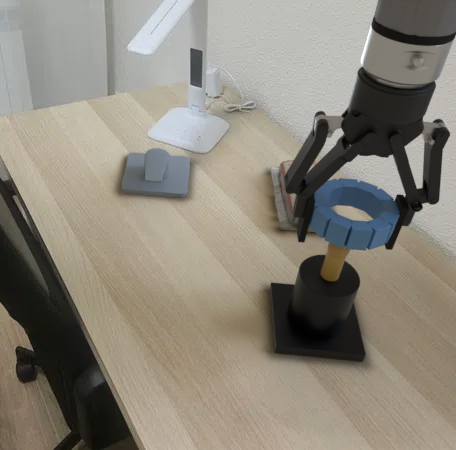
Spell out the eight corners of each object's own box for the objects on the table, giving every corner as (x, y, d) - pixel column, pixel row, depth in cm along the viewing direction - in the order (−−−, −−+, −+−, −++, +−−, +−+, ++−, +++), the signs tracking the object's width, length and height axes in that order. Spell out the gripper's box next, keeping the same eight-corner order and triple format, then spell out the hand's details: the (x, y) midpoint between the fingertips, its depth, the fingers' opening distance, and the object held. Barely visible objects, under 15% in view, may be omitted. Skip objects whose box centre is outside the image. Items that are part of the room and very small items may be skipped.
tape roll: (381, 200, 71) (388, 181, 69) (400, 253, 63) (408, 234, 61) (303, 194, 72) (307, 175, 70) (312, 246, 64) (317, 227, 62)
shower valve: (117, 177, 97) (128, 132, 108) (118, 201, 100) (129, 156, 112) (188, 182, 96) (192, 137, 107) (186, 207, 100) (190, 160, 111)
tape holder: (348, 296, 84) (380, 213, 74) (362, 361, 75) (401, 278, 64) (269, 289, 85) (289, 206, 74) (274, 353, 76) (298, 268, 65)
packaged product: (344, 213, 92) (284, 210, 92) (337, 235, 95) (279, 231, 95) (325, 153, 105) (273, 150, 106) (320, 174, 109) (269, 171, 109)
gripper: (286, 82, 53) (254, 251, 67) (531, 98, 51) (444, 267, 66) (280, 50, 58) (251, 212, 73) (501, 64, 57) (427, 226, 71)
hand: (343, 238), depth 69 cm, fingers closed on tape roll, 10 cm apart
